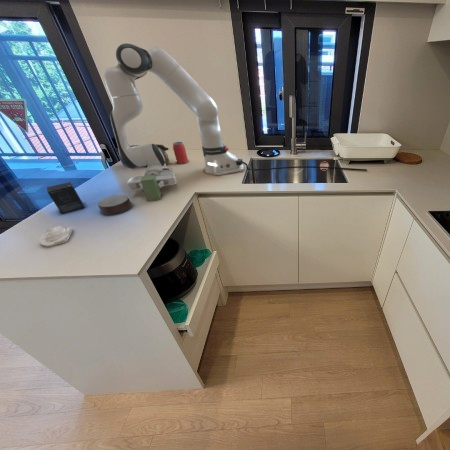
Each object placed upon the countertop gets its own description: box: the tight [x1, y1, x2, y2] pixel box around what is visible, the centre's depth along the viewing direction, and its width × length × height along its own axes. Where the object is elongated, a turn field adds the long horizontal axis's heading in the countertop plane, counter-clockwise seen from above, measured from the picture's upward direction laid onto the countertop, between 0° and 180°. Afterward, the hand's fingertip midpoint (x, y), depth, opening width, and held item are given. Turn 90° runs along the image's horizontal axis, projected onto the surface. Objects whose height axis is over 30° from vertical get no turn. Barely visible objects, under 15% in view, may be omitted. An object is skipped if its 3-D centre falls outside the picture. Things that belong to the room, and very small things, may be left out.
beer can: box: [172, 141, 189, 165], centre depth 150 cm, size 7×7×12 cm
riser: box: [97, 194, 133, 216], centre depth 103 cm, size 11×11×4 cm
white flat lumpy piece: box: [38, 225, 73, 248], centre depth 85 cm, size 10×4×10 cm
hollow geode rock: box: [114, 143, 170, 167], centre depth 145 cm, size 28×13×15 cm
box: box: [46, 181, 85, 214], centre depth 101 cm, size 8×6×11 cm
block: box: [141, 175, 162, 202], centre depth 110 cm, size 5×5×10 cm
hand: (150, 187), depth 109 cm, fingers closed on block, 5 cm apart
